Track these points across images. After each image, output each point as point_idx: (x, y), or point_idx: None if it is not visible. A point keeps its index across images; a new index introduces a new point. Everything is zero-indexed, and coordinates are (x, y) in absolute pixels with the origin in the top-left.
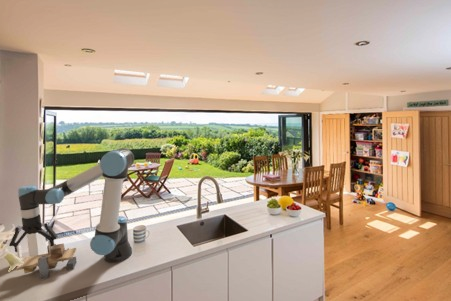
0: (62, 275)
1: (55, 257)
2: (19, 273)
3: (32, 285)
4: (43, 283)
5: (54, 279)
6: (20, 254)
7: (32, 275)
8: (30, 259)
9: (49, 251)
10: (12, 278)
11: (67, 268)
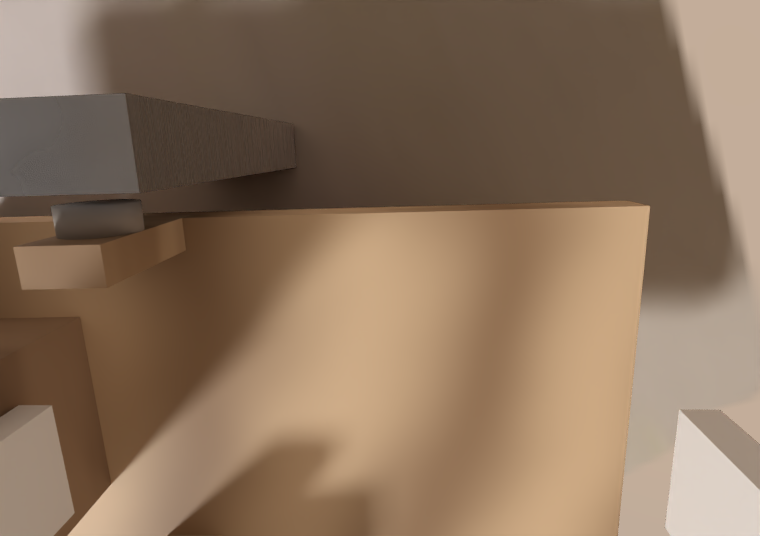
0: None
1: (3, 321)
2: None
3: (339, 7)
4: (214, 10)
5: (112, 65)
6: (725, 515)
7: None
8: (491, 454)
9: (7, 436)
10: (662, 281)
11: None
